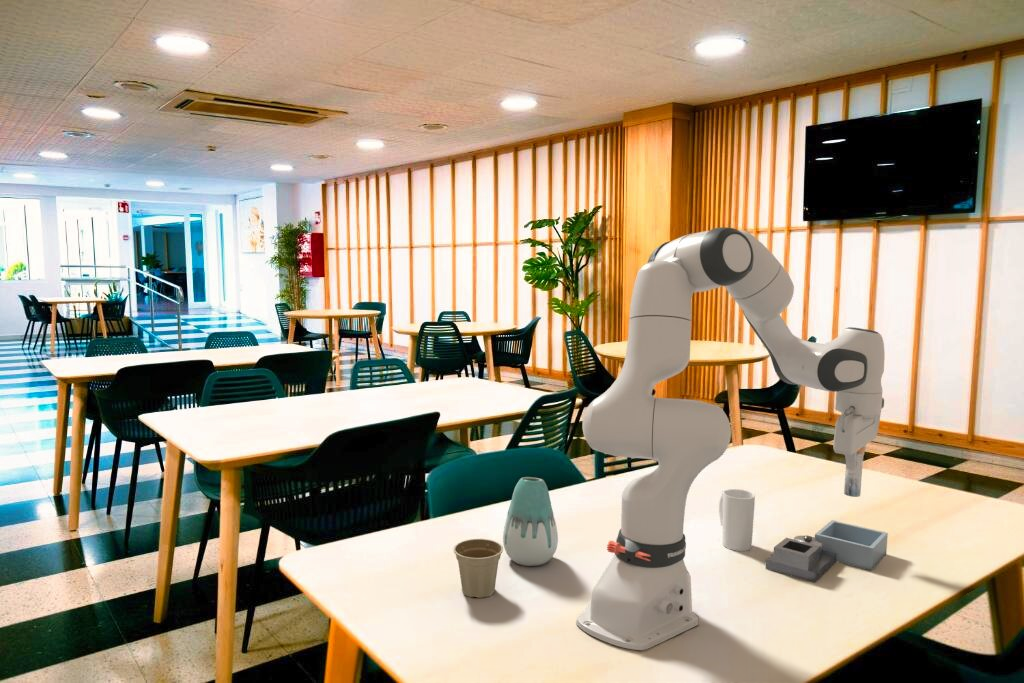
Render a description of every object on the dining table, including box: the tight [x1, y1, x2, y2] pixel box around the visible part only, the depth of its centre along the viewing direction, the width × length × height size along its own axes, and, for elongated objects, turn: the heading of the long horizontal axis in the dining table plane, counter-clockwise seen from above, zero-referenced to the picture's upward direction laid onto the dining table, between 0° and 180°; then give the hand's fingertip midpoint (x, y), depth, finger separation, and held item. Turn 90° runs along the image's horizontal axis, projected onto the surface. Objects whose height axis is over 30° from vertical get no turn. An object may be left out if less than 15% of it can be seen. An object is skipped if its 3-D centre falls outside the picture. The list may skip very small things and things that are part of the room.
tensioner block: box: [765, 535, 837, 583], centre depth 149 cm, size 13×10×5 cm
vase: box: [502, 476, 559, 567], centre depth 150 cm, size 12×12×18 cm
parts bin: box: [814, 519, 889, 572], centre depth 155 cm, size 12×12×5 cm
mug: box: [718, 488, 756, 552], centre depth 160 cm, size 10×7×12 cm, turn 20°
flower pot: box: [453, 538, 504, 599], centre depth 136 cm, size 9×9×9 cm
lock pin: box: [843, 446, 864, 498], centre depth 153 cm, size 3×3×11 cm
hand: (854, 466), depth 153 cm, fingers closed on lock pin, 3 cm apart
